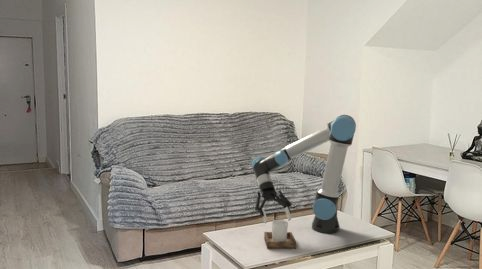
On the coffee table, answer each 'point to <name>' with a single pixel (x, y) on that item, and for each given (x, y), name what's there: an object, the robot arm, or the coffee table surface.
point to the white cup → (279, 230)
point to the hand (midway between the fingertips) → (278, 220)
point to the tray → (287, 244)
